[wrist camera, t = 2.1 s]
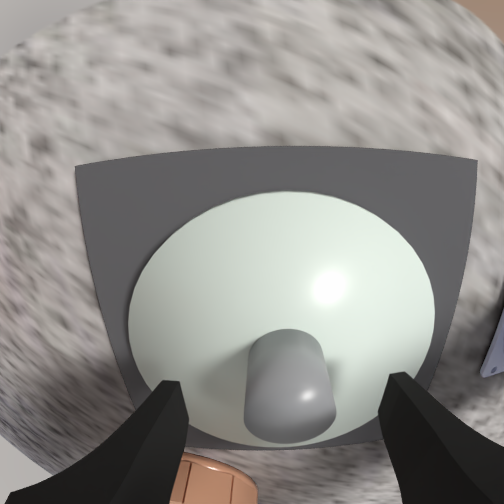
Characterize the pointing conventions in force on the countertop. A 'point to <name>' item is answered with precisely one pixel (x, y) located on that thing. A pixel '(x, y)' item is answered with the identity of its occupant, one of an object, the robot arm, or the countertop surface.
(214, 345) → the lid
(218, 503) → the bowl
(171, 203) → the mat
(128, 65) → the countertop surface
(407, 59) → the countertop surface
